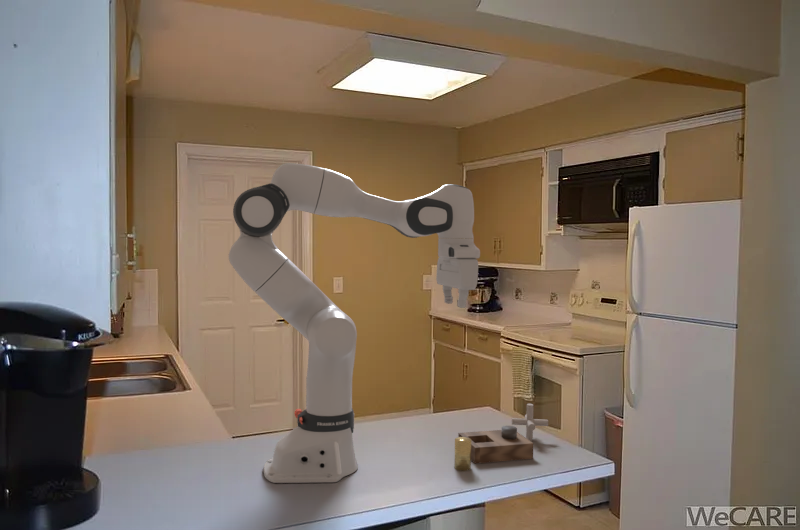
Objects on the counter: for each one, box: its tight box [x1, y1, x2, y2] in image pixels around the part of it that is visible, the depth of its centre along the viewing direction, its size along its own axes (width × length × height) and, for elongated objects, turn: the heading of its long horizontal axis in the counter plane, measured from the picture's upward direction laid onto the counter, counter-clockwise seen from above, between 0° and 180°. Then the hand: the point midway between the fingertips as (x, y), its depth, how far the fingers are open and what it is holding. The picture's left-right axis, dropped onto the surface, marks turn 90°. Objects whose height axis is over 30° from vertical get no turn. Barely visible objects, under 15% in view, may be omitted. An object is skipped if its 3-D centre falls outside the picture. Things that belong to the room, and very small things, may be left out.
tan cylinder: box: [453, 436, 472, 472], centre depth 148 cm, size 4×4×7 cm
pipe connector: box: [511, 403, 549, 442], centre depth 170 cm, size 10×10×10 cm
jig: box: [457, 425, 534, 465], centre depth 158 cm, size 16×12×6 cm
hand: (454, 305), depth 151 cm, fingers open, 8 cm apart
